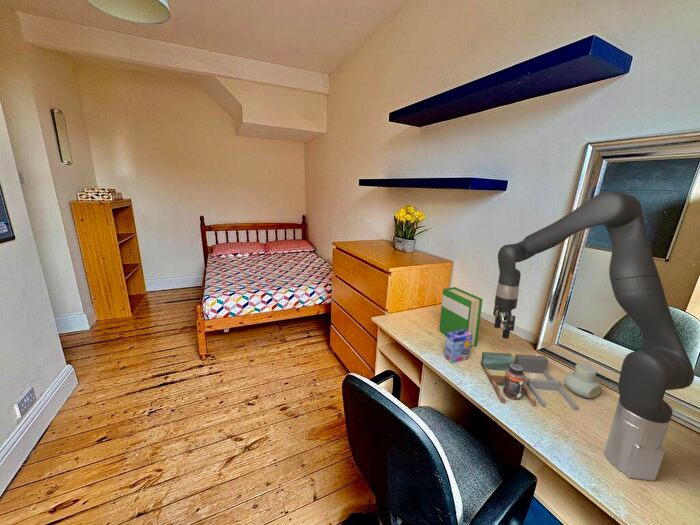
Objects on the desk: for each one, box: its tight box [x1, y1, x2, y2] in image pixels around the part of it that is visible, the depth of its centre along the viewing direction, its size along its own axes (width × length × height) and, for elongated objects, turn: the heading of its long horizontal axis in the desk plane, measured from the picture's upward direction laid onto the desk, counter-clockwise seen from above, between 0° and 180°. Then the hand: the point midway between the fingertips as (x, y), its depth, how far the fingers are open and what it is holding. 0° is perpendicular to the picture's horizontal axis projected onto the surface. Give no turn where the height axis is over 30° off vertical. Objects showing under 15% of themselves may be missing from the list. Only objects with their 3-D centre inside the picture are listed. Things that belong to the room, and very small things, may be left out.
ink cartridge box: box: [443, 329, 473, 363], centre depth 121 cm, size 10×6×14 cm, turn 111°
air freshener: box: [563, 363, 603, 399], centre depth 102 cm, size 11×8×10 cm
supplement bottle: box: [502, 364, 526, 400], centre depth 100 cm, size 6×6×11 cm
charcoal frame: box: [513, 353, 579, 411], centre depth 105 cm, size 23×11×6 cm, turn 172°
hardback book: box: [439, 286, 484, 348], centre depth 136 cm, size 18×7×24 cm, turn 22°
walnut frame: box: [479, 351, 537, 407], centre depth 107 cm, size 23×11×6 cm, turn 172°
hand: (501, 332), depth 113 cm, fingers open, 8 cm apart
